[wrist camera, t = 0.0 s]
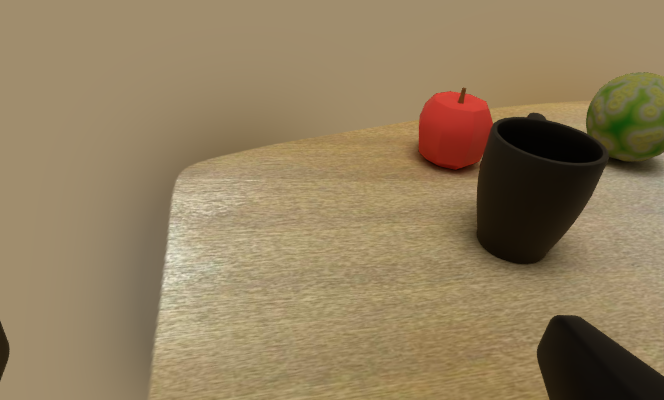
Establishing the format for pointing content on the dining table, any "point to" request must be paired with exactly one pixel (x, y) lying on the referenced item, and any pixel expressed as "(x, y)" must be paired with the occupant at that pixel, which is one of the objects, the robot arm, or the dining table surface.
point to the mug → (534, 185)
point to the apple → (454, 129)
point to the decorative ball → (629, 116)
